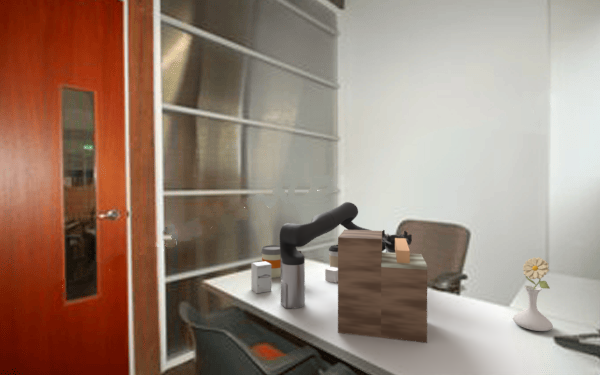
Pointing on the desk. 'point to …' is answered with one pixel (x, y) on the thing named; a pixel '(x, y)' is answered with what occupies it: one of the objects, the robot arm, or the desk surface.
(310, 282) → the desk surface
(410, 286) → the stepped stand
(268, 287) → the supplement box
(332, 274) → the white cube
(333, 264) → the coffee cup
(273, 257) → the reusable coffee cup
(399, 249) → the terracotta bar
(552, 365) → the desk surface
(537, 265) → the flower in vase
